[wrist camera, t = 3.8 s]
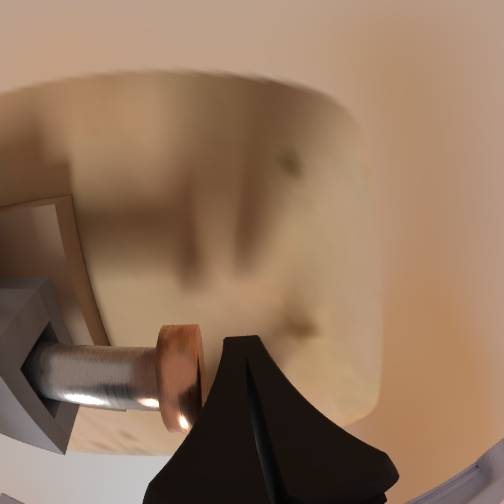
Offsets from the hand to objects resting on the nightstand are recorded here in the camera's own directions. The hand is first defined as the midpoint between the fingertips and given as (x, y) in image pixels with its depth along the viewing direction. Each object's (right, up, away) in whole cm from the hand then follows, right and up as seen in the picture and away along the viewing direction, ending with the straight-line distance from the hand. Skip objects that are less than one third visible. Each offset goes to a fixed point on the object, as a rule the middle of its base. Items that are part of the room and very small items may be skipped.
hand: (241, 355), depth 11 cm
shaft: (-7, 0, 0) cm, 7 cm away
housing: (-12, +1, +1) cm, 13 cm away
